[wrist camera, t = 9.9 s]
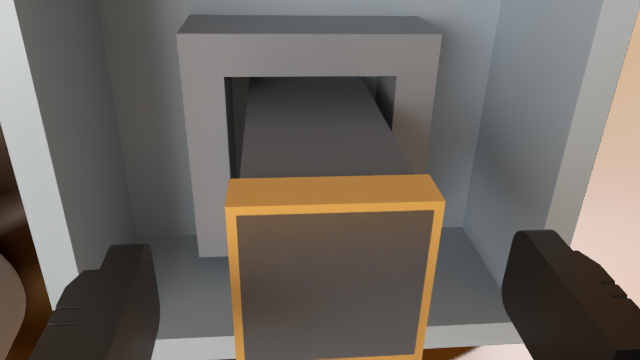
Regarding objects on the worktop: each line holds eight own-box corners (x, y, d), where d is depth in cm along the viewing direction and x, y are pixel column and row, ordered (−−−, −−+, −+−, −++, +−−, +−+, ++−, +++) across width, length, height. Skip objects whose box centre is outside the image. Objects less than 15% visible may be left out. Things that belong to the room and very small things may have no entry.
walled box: (53, -122, 17) (-72, -138, 10) (535, -108, 18) (675, -116, 12) (121, 244, 23) (68, 367, 17) (472, 232, 25) (542, 342, 18)
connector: (244, 67, 19) (224, 207, 10) (364, 66, 19) (445, 200, 11) (249, 175, 21) (236, 369, 12) (357, 172, 21) (421, 360, 13)
